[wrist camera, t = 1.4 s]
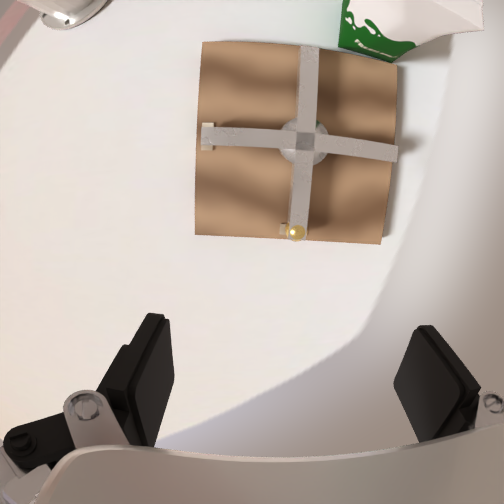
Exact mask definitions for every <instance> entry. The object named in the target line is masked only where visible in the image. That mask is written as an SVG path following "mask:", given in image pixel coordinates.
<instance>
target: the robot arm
mask: <svg viewBox="0 0 504 504" xmlns="http://www.w3.org/2000/svg"><path fill="white" fill-rule="evenodd" d="M16 1H18V2H21V3H23V4H25V5H28V6H30V7H32V8H35V9H37V10H39V11H40V17H41V21H42V22H43V24H44V25H46V26H47V27H49V28H51V29H54V30H66V29H70V28H73V27H75V26H77V25H79V24H81V23H83V22H85V21H86V20H88V19H89V18H90V17H92V16H93V15H94V14H95V13H96V12H97V11H99V10H100V9H101V8H102V6H103V5H104V4H105V3H106V2H107V1H108V0H16ZM173 383H174V366H173V356H172V345H171V333H170V321H169V319H165V317H164V315H163V314H155V313H148V314H147V315H146V317H145V319H144V320H143V322H142V324H141V325H140V327H139V329H138V330H137V332H136V334H135V336H134V337H133V339H132V341H131V343H130V344H129V345H126V344H125V345H123V346H122V347H121V348H120V350H119V352H118V353H117V355H116V357H115V359H114V360H113V362H112V364H111V365H110V367H109V369H108V371H107V372H106V374H105V376H104V377H103V379H102V381H101V383H100V384H99V386H98V388H97V390H96V391H93V390H81V391H78V392H75V393H73V394H72V395H70V396H69V397H68V398H67V399H66V401H65V402H64V406H63V411H64V412H62V413H59V414H56V415H53V416H50V417H47V418H44V419H40V420H37V421H34V422H30V423H27V424H24V425H20V426H17V427H15V428H12V429H11V430H10V431H9V432H7V434H6V436H5V437H4V441H3V446H1V447H0V504H29V503H30V502H31V501H33V500H34V499H36V500H35V502H34V504H504V397H503V396H501V395H500V394H498V393H496V392H493V391H486V392H484V393H482V394H481V395H480V396H479V394H478V392H479V391H480V389H481V387H480V385H479V384H478V383H477V381H476V380H475V378H474V377H473V376H472V375H471V373H470V372H469V370H468V369H467V368H466V367H465V366H464V364H463V362H462V361H461V360H460V359H459V357H458V356H457V355H456V353H455V352H454V351H453V350H452V348H451V347H450V346H449V345H448V344H447V342H446V341H445V340H444V339H443V337H442V336H441V335H440V334H439V332H438V331H437V330H436V329H435V328H434V327H433V326H432V325H420V326H418V328H417V329H416V330H414V332H413V334H412V337H411V340H410V342H409V345H408V347H407V350H406V352H405V355H404V358H403V360H402V362H401V365H400V367H399V370H398V372H397V374H396V377H395V379H394V389H395V391H396V393H397V395H398V397H399V399H400V401H401V403H402V406H403V408H404V410H405V412H406V414H407V416H408V419H409V421H410V423H411V425H412V427H413V430H414V432H415V434H416V436H417V438H418V441H419V443H416V444H411V445H406V446H401V447H395V448H389V449H383V450H376V451H369V452H361V453H353V454H343V455H332V456H317V457H287V458H286V457H283V458H282V457H281V458H280V457H279V458H278V457H273V458H272V457H242V456H227V455H214V454H203V453H194V452H185V451H178V450H170V449H162V448H161V449H160V448H154V445H155V442H156V439H157V435H158V432H159V429H160V425H161V422H162V419H163V415H164V412H165V409H166V406H167V402H168V399H169V396H170V393H171V390H172V386H173ZM37 493H39V494H38V496H37V497H36V496H35V495H36V494H37Z"/></svg>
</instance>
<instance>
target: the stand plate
mask: <svg viewBox="0 0 504 504" xmlns="http://www.w3.org/2000/svg"><path fill="white" fill-rule="evenodd" d="M299 48H300V46H295V45H285V44H274V43H258V42H202V54H201V67H200V81H199V97H198V115H197V138H196V171H195V235H212V236H234V237H255V238H275V239H288V237H287V235H286V233H285V227H286V224H287V222H288V210H289V198H290V185H291V172H292V163H291V162H290V161H288V160H287V159H285V158H284V157H283V156H282V154H281V153H280V151H279V149H278V148H266V147H247V146H219V145H201V127H231V128H255V129H272V130H280V129H281V127H282V126H283V125H284V124H285V123H287V122H288V121H290V120H292V119H294V118H295V111H296V92H297V71H298V50H299ZM396 104H397V65H395V64H391V63H387V62H384V61H380V60H376V59H371V58H367V57H362V56H358V55H353V54H348V53H343V52H337V51H331V50H325V49H319V68H318V93H317V112H316V120H318V121H319V122H320V123H322V124H323V125H324V127H325V128H326V130H327V131H328V134H329V135H333V136H341V137H348V138H355V139H361V140H367V141H373V142H379V143H385V144H390V145H394V138H395V124H396ZM391 170H392V162H389V161H383V160H377V159H370V158H364V157H357V156H349V155H341V154H333V153H327V155H326V156H325V158H324V159H323V160H322V161H321V162H319V163H317V164H315V165H313V169H312V181H311V192H310V203H309V213H308V223H307V227H308V233H307V236H306V240H312V241H329V242H346V243H363V244H379V245H380V244H381V239H382V233H383V228H384V221H385V215H386V209H387V202H388V195H389V187H390V179H391Z"/></svg>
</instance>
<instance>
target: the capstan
mask: <svg viewBox="0 0 504 504" xmlns="http://www.w3.org/2000/svg"><path fill="white" fill-rule="evenodd" d="M318 68H319V48H318V47H311V46H303V45H301V46H300V48H299V50H298V71H297V92H296V111H295V118H294V119H292V120H290V121H288V122H287V123H285V124H284V125H283V126H282V127H281V129H280V130H272V129H255V128H231V127H201V145H219V146H247V147H266V148H278V149H279V151H280V153H281V154H282V156H283V157H284V158H285V159H287V160H288V161H290V162H291V163H292V172H291V185H290V198H289V210H288V222H287V224H286V227H285V233H286V235H287V237H288V239H289V240H292V241H301V240H306V236H307V233H308V227H307V223H308V213H309V203H310V192H311V181H312V169H313V165H315V164H317V163H319V162H321V161H322V160H323V159H324V158H325V156H326V155H327V153H333V154H341V155H349V156H357V157H364V158H370V159H377V160H383V161H389V162H395V163H397V158H398V147H399V146H395V145H390V144H385V143H379V142H373V141H367V140H361V139H355V138H348V137H341V136H333V135H329V134H328V131H327V130H326V128H325V127H324V125H323V124H322V123H320V122H319V121H318V120H316V112H317V93H318Z"/></svg>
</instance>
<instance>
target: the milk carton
mask: <svg viewBox="0 0 504 504" xmlns="http://www.w3.org/2000/svg"><path fill="white" fill-rule="evenodd" d="M482 7H483V0H343V3H342V14H341V24H340V34H339V43H338V47H340V48H344V49H347V50H351V51H354V52H358V53H361V54H365V55H368V56H371V57H374V58H377V59H380V60H383V61H386V62H389V63H392V62H393V61H395V60H396V59H397V58H399V57H400V56H401V55H403V54H404V53H406V52H407V51H409V50H411V49H413V48H415V47H418V46H420V45H422V44H424V43H426V42H429V41H431V40H433V39H435V38H438V37H440V36H443V35H449V34H455V33H463V32H473V31H484V23H483V13H482Z"/></svg>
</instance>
